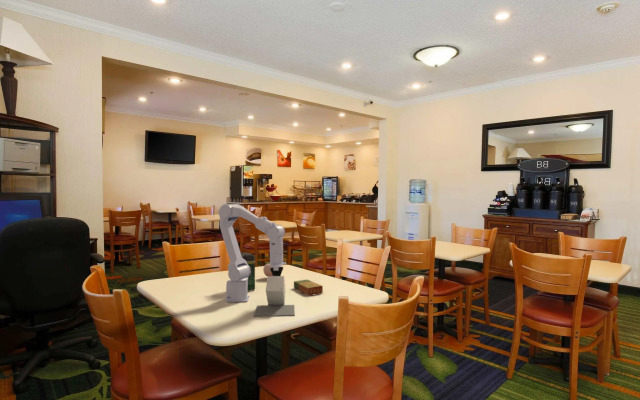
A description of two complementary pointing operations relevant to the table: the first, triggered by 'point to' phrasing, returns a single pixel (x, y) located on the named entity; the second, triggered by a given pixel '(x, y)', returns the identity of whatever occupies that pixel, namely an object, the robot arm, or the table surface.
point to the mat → (274, 310)
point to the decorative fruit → (267, 269)
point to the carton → (308, 287)
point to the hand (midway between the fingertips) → (277, 284)
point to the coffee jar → (251, 263)
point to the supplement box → (275, 290)
